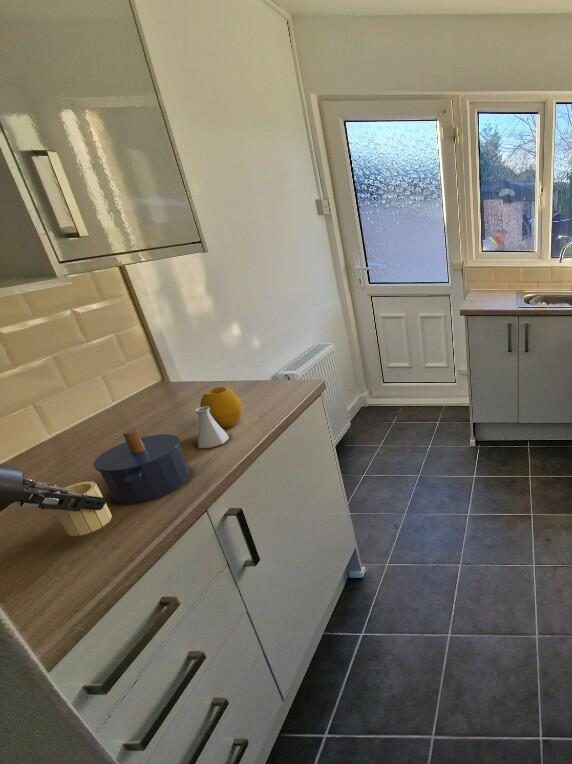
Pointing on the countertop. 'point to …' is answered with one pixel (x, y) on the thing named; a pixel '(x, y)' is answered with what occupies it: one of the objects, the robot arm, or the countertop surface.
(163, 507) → the countertop surface
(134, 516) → the countertop surface
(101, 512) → the pale yellow hollow cylinder
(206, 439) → the flask
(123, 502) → the pot
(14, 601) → the countertop surface
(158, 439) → the pot lid
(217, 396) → the round orange vase
